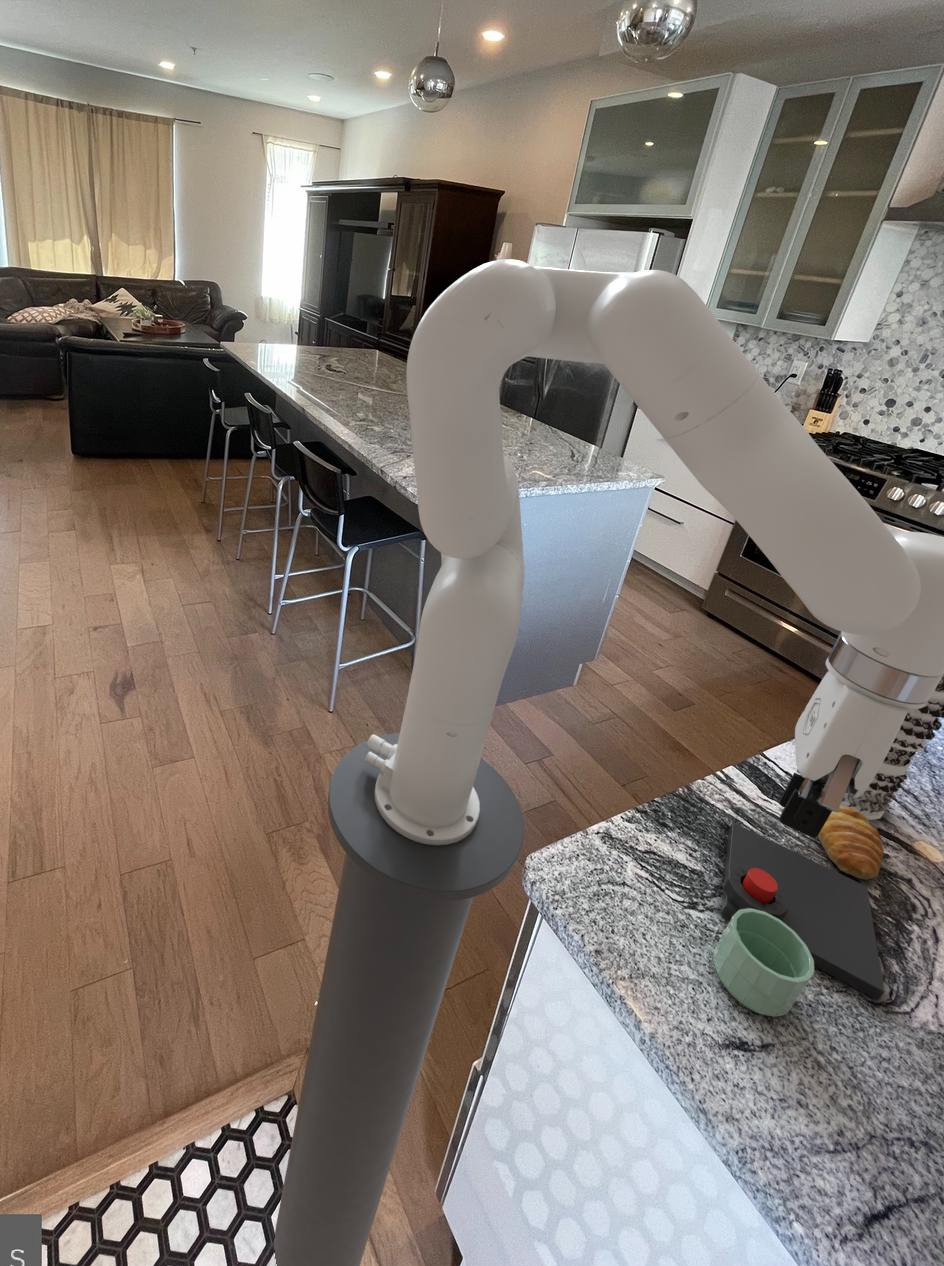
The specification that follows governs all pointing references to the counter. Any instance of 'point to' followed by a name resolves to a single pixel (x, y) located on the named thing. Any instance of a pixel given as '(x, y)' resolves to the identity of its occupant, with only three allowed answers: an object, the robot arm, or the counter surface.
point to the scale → (808, 907)
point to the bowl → (763, 962)
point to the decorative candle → (900, 756)
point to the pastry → (852, 843)
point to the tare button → (760, 885)
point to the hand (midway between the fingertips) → (797, 818)
